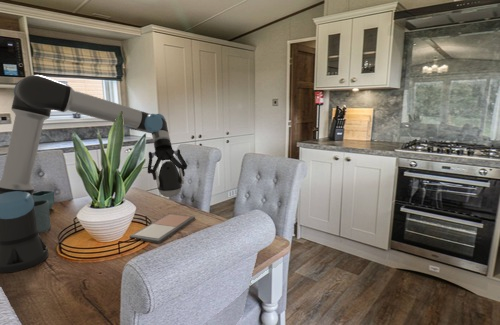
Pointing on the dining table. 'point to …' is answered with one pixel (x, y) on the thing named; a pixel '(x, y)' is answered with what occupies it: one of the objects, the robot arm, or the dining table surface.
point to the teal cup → (42, 215)
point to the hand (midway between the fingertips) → (171, 183)
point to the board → (162, 228)
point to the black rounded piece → (169, 180)
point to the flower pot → (44, 197)
